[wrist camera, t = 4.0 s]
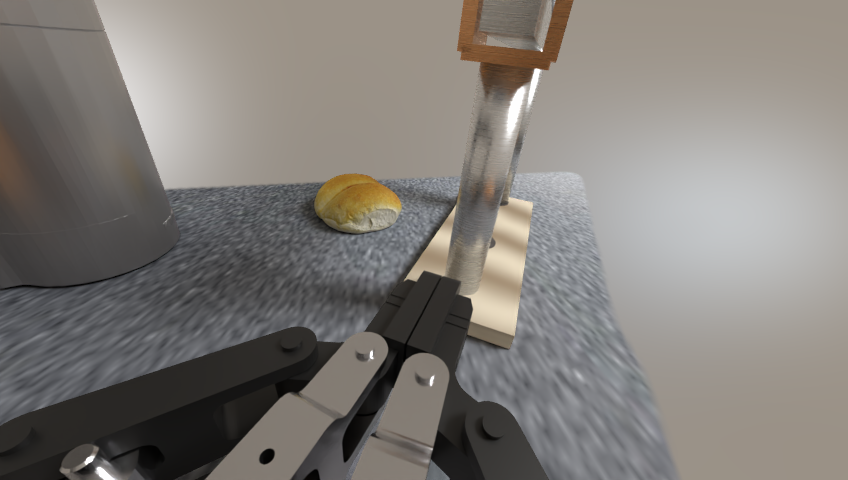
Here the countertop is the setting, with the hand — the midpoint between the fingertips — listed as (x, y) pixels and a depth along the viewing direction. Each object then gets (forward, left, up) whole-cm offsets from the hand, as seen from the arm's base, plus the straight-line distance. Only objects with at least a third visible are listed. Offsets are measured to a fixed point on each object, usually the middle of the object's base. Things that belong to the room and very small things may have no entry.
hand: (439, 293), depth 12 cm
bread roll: (+6, +20, -8) cm, 22 cm away
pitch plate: (+14, +10, -7) cm, 19 cm away
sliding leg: (+6, +4, -6) cm, 9 cm away
